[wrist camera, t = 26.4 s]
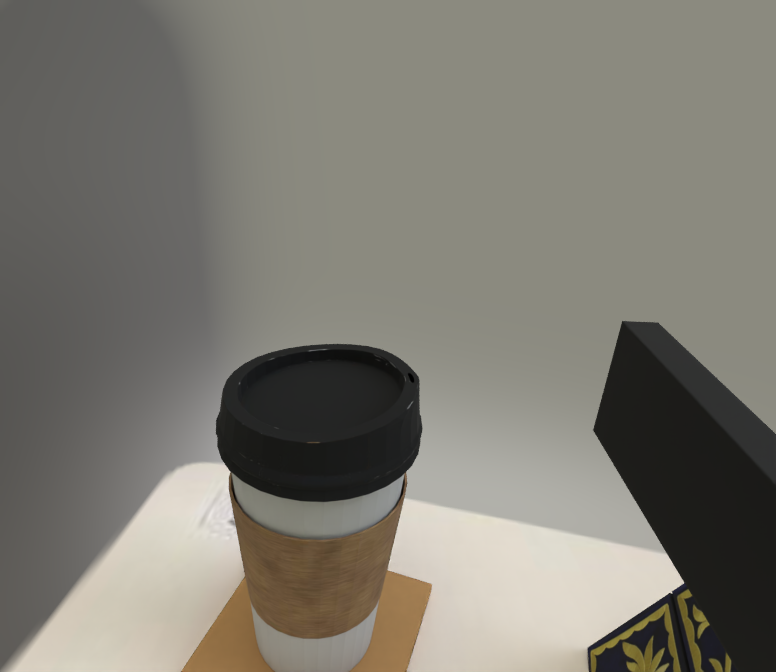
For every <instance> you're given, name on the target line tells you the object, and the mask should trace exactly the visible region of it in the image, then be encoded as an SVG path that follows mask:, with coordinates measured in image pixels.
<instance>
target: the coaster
mask: <svg viewBox="0 0 776 672" xmlns="http://www.w3.org/2000/svg"><path fill="white" fill-rule="evenodd" d="M431 588H432V584H429V583H426V582H423V581H420V580H417V579H413V578H410V577H407V576H404V575H400V574H397V573H394V572H391V571H388V570H387V572H386V576H385V580H384V585H383V589H382V593H381V597H380V599H379V603H378V608H377V613H376V618H375V623H374V627H373V632H372V637H371V641H370V644H369V647H368V649H367V651H366V653H365V655H364V656H363V658H362V659H361V660H360V662H359V663H358V664H357V665H356V666H355V667H354V668H352V669H351V670H350V671H349V672H406V671H407V668H408V664H409V661H410V658H411V654H412V651H413V648H414V645H415V641H416V638H417V635H418V632H419V628H420V625H421V622H422V618H423V615H424V612H425V609H426V605H427V602H428V599H429V595H430V592H431ZM181 672H275V671H274V670H272V669H271V667H270V666H269V665H268V664H267V663H266V662H265V660H264V659H263V657H262V655H261V653H260V651H259V647H258V644H257V640H256V634H255V628H254V621H253V614H252V607H251V600H250V597H249V594H248V588H247V583H246V578H245V577H244V579H243V580H242V582H241V583H240V585H239V586H238V588H237V589H236V591H235V592H234V594H233V595H232V597H231V598H230V600H229V601H228V603H227V604H226V606H225V607H224V609H223V610H222V612H221V613H220V615H219V616H218V618H217V619H216V620H215V622H214V623H213V625H212V626H211V628H210V629H209V631H208V632H207V634H206V635H205V637H204V638H203V640H202V641H201V643H200V644H199V646H198V647H197V649H196V650H195V652H194V653H193V655H192V656H191V658H190V659H189V661H188V662H187V664H186V665H185V667H184V668H183V670H182V671H181Z"/></svg>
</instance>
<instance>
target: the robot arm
mask: <svg viewBox="0 0 776 672" xmlns="http://www.w3.org/2000/svg"><path fill="white" fill-rule="evenodd" d="M593 430H594V432H595V434H596V436H597V437H598V439H599V441H600V442H601V444H602V446H603V447H604V449H605V451H606V452H607V454H608V456H609V457H610V459H611V461H612V462H613V464H614V466H615V467H616V469H617V471H618V472H619V474H620V476H621V478H622V479H623V481H624V483H625V484H626V486H627V488H628V489H629V491H630V493H631V494H632V496H633V497H634V499H635V501H636V503H637V504H638V506H639V507H640V509H641V511H642V512H643V514H644V516H645V518H646V519H647V521H648V523H649V524H650V526H651V527H652V529H653V531H654V532H655V534H656V536H657V537H658V539H659V541H660V543H661V544H662V546H663V548H664V549H665V551H666V553H667V554H668V556H669V558H670V559H671V561H672V563H673V564H674V566H675V568H676V569H677V571H678V573H679V574H680V576H681V578H682V579H683V581H684V583H685V584H686V586H687V588H688V589H689V591H690V593H691V594H692V596H693V598H694V599H695V601H696V603H697V604H698V606H699V608H700V609H701V611H702V613H703V614H704V616H705V618H706V619H707V621H708V623H709V624H710V626H711V628H712V630H713V631H714V633H715V635H716V636H717V638H718V640H719V641H720V643H721V645H722V646H723V648H724V650H725V651H726V653H727V655H728V656H729V658H730V660H731V661H732V663H733V665H734V666H735V668H736V670H737V671H738V672H776V434H775V433H774V432H773V431H772V430H771V429H770V428H769V427H768V426H767V425H766V424H764V423H763V422H762V421H761V420H760V419H759V418H758V417H757V416H756V415H755V414H754V413H753V412H752V411H751V410H750V409H749V408H748V407H746V406H745V405H744V404H743V403H742V402H741V401H740V400H739V399H738V398H737V397H736V396H735V395H734V394H733V393H732V392H731V391H730V390H729V389H728V388H726V387H725V386H724V385H723V384H722V383H721V382H720V381H719V380H718V379H717V378H716V377H715V376H714V375H713V374H712V373H711V372H709V371H708V370H707V369H706V368H705V367H704V366H703V365H702V364H701V363H700V362H699V361H698V360H697V359H696V358H695V357H694V356H693V355H692V354H690V353H689V352H688V351H687V350H686V349H685V348H684V347H683V346H682V345H681V344H680V343H679V342H678V341H677V340H676V339H674V337H673V336H671V335H670V334H669V333H668V332H667V331H666V330H665V329H664V328H663V327H662V326H661V325H660V324H659V323H653V322H627V321H622V324H621V328H620V332H619V336H618V339H617V343H616V347H615V351H614V355H613V358H612V362H611V365H610V369H609V373H608V377H607V381H606V384H605V388H604V393H603V395H602V399H601V403H600V407H599V410H598V414H597V418H596V422H595V425H594V429H593Z"/></svg>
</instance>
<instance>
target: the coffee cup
mask: <svg viewBox="0 0 776 672" xmlns="http://www.w3.org/2000/svg"><path fill="white" fill-rule="evenodd" d="M421 433H422V423H421V416H420V411H419V377H418V376H417V374H416V373H415V372H414V371H413V370H412V369H411V368H410V367H409V366H408V365H407V364H406V363H405V362H404V361H402V360H401V359H399V358H398V357H396V356H394V355H393V354H391V353H389V352H386V351H384V350H381V349H377V348H373V347H369V346H361V345H351V344H348V345H347V344H324V345H310V346H301V347H295V348H288V349H283V350H279V351H275V352H271V353H268V354H265V355H263V356H259V357H257V358H255V359H253V360H251V361H249V362H247V363H245V364H243V365H242V366H241V367H239V368H238V369H237V370H235V371H234V372H233V373H232V375H231V376H230V377H229V378H228V379H227V381H226V384H225V386H224V388H223V393H222V400H221V407H220V412H219V415H218V417H217V420H216V434H217V437H218V449H219V453H220V456H221V459H222V460H223V462H224V463H225V465H226V466H227V467H228V469H229V470H230V471H231V473H230V476H229V492H230V497H231V503H232V508H233V513H234V519H235V524H236V529H237V535H238V540H239V545H240V551H241V556H242V561H243V567H244V572H245V578H246V583H247V588H248V594H249V597H250V600H251V607H252V614H253V621H254V628H255V634H256V640H257V644H258V647H259V651H260V653H261V655H262V657H263V659H264V660H265V662H266V663H267V664H268V665H269V666H270V667H271V669H272V670H274V671H275V672H349V671H350V670H351V669H352V668H354V667H355V666H356V665H357V664H358V663H359V662H360V660H361V659H362V658H363V656H364V655H365V653H366V651H367V649H368V647H369V644H370V641H371V637H372V632H373V627H374V623H375V618H376V613H377V608H378V603H379V599H380V597H381V593H382V589H383V585H384V580H385V576H386V572H387V568H388V564H389V559H390V555H391V551H392V547H393V543H394V539H395V534H396V530H397V526H398V522H399V518H400V513H401V509H402V505H403V501H404V497H405V492H406V487H407V476H406V471H407V470H408V469H409V468H410V467H411V466H412V464H413V462H414V460H415V459H416V456H417V455H418V452H419V446H420V438H421Z"/></svg>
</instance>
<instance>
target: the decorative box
mask: <svg viewBox="0 0 776 672" xmlns="http://www.w3.org/2000/svg"><path fill="white" fill-rule="evenodd" d="M672 593H673V594H671V593H669V594H668V595H666V596H665V597H663V598H662V599H660V600H659V601H657V602H656V603H654V604H653V605H651V606H650V607H648V608H647V609H645V610H644V611H642V612H641V613H639V614H638V615H636V616H635V617H633V618H632V619H630V620H629V621H627V622H626V623H624V624H623V625H621V626H620V627H618V628H617V629H615V630H614V631H612V632H611V633H609V634H608V635H606V636H605V637H603V638H602V639H600V640H599V641H597V642H596V643H594V644H593V645H591V646H590V647H588V658H589V672H738V671H737V670H736V668H735V666H734V665H733V663H732V661H731V660H730V658H729V656H728V655H727V653H726V651H725V650H724V648H723V646H722V645H721V643H720V641H719V640H718V638H717V636H716V635H715V633H714V631H713V630H712V628H711V626H710V624H709V623H708V621H707V619H706V618H705V616H704V614H703V613H702V611H701V609H700V608H699V606H698V604H697V603H696V601H695V599H694V598H693V596H692V594H691V593H690V591H689V589H688V588H687V586H686V584H685V583H684V584H683V585H681V586H680V587H678V588H677V589H675V590H674V591H672Z"/></svg>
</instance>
